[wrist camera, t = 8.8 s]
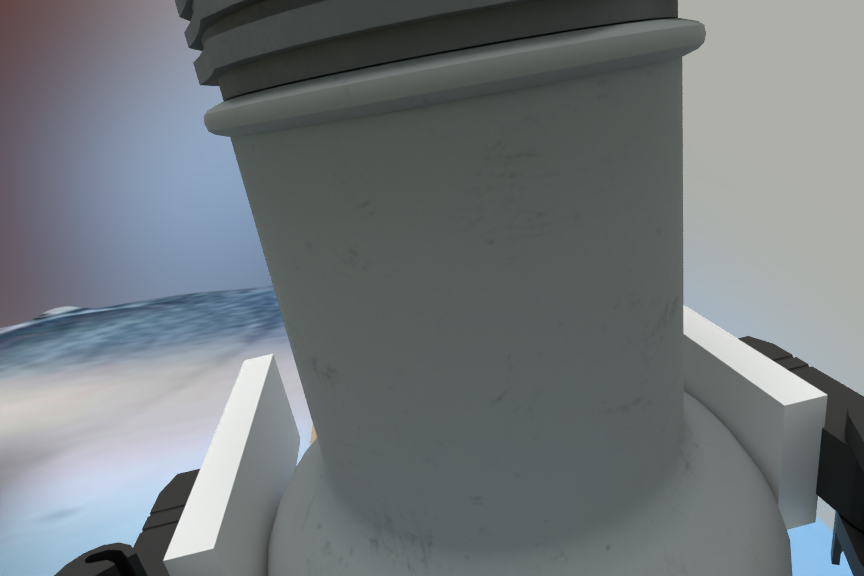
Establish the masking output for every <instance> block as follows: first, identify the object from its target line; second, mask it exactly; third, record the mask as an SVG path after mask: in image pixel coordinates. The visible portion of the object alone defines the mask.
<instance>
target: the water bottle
mask: <svg viewBox="0 0 864 576" xmlns="http://www.w3.org/2000/svg"><path fill="white" fill-rule="evenodd" d="M175 3H176V6H177V10H178V13H179V16H180V17H181V18H184V19H186V20H189V21H191V22H190V24H189V26H188V27H187V29H186V31H185V32H184V33H185V37H186V40H187V43H188V47H189V48H191V49H195V50H200V51H202V53H201V55H200V56H199V57H198V59H196V61H195V62H194V67H195V70H196V73H197V77H198V80H199V83H200V85H209V86H220V90H221V93H222V97H223V100H224V102H222V103H220V104H218V105H216V106H215V107H213V108H211V109H209V110H208V111H207V112H206V114H205V115H204V123H205V126H206V127H207V129H208V131H209V132H211V133H213V134H215V135H221V136H228V137H231V141H232V144H233V148H234V152H235V155H236V158H237V162H238V165H239V169H240V172H241V176H242V179H243V183H244V186H245V190H246V193H247V197H248V200H249V203H250V207H251V210H252V214H253V217H254V221H255V224H256V227H257V231H258V235H259V238H260V241H261V245H262V248H263V252H264V255H265V259H266V262H267V266H268V269H269V272H270V276H271V279H272V283H273V286H274V290H275V293H276V297H277V300H278V304H279V307H280V311H281V314H282V318H283V321H284V324H285V328H286V331H287V335H288V338H289V342H290V345H291V349H292V352H293V356H294V359H295V362H296V366H297V369H298V373H299V376H300V380H301V383H302V387H303V390H304V394H305V397H306V400H307V404H308V407H309V411H310V414H311V418H312V421H313V425H314V428H315V432H316V435H317V438H316V439H315V441H314V442H313V443H312V445H311V446H310V447H309V448H308V450H307V451H306V452H305V454H304V455H303V457H302V459H301V460H300V462H299V464H298V465H297V467H296V469H295V471H294V473H293V475H292V477H291V479H290V481H289V483H288V485H287V487H286V489H285V490H284V492H283V494H282V497H281V500H280V503H279V506H278V509H277V512H276V516H275V520H274V524H273V527H272V531H271V535H270V539H269V543H268V576H792V564H791V549H790V539H789V536H788V533H787V530H786V527H785V524H784V521H783V518H782V515H781V513H780V510H779V507H778V504H777V501H776V499H775V496H774V493H773V490H772V488H771V486H770V484H769V482H768V481H767V479H766V477H765V476H764V475H763V473H762V472H761V470H760V469H759V467H758V466H757V465H756V463H755V462H754V460H753V459H752V457H751V456H750V454H749V453H748V452H747V450H746V449H745V448H744V447H743V445H742V444H741V443H740V441H739V440H738V439H737V438H736V436H735V435H734V434H733V433H732V432H731V431H730V430H729V429H728V428H727V427H726V426H725V425H724V424H723V423H722V422H721V421H720V420H719V419H718V418H717V417H716V416H715V415H714V414H713V413H712V412H711V411H710V410H708V409H707V408H706V407H705V406H704V405H703V404H702V403H701V402H700V401H698V400H697V399H695V398H694V397H692V396H691V395H689V394H688V393H686V392H685V391H684V344H683V151H682V150H683V143H682V142H683V140H682V139H683V138H682V137H683V136H682V133H683V131H682V56H684V55H686V54H688V53H690V52H692V51H694V50H696V49H698V48H699V47H700V46H701V45H702V44H703V43H704V40H705V36H706V31H705V27H704V25H703V24H702V23H700V22H698V21H693V20H687V19H681V18H678V0H175Z"/></svg>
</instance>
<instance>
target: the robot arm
mask: <svg viewBox="0 0 864 576" xmlns="http://www.w3.org/2000/svg"><path fill="white" fill-rule="evenodd" d="M683 344H684V391H685V392H686V393H688V394H689V395H691V396H692V397H694V398H695V399H697V400H698V401H700V402H701V403H702V404H703V405H704V406H705V407H706V408H707V409H708V410H710V411H711V412H712V413H713V414H714V415H715V416H716V417H717V418H718V419H719V420H720V421H721V422H722V423H723V424H724V425H725V426H726V427H727V428H728V429H729V430H730V431H731V432H732V433H733V434H734V435H735V436H736V438H737V439H738V440H739V441H740V443H741V444H742V445H743V447H744V448H745V449H746V450H747V452H748V453H749V454H750V456H751V457H752V459H753V460H754V462H755V463H756V465H757V466H758V467H759V469H760V470H761V472H762V473H763V475H764V476H765V477H766V479H767V481H768V482H769V484H770V486H771V488H772V490H773V493H774V496H775V499H776V501H777V504H778V507H779V510H780V513H781V515H782V518H783V521H784V524H785V527H786V530H787V529H791V528H795V527H799V526H802V525H806V524H810V523H814V522H815V519H816V509H817V499H818V496H819V497H821V498H822V499H823V500H824V501H825V502H826V503H828V504H829V505H830V506H831V507H832V508H833V509H834V510H836V513H835V522H834V530H833V539H832V548H831V561H832V564H835V565H839V564H840V555H841V552H842V551H844V554H845V556H846V559H847V561H848V564H849V566H850V569H851V571H852V573H853V576H864V397H863V396H862V395H860V394H858V393H857V392H855V391H853V390H851V389H850V388H848V387H846V386H844V385H843V384H841V383H840V382H838V381H836V380H834V379H833V378H831V377H829V376H828V375H826V374H824V373H822V372H821V371H819V370H817V369H816V368H814V367H809V366H808V364H807V363H805V362H804V361H802V360H800V359H798V358H797V357H795V358H793V356H792V354H790V353H788V352H786V351H785V350H783V349H781V348H780V347H778V346H776V345H774V344H772V343H769V342H766V341H763V340H759V339H756V338H753V337H750V336H747V337H742V338H738V339H737V338H736V337H734V336H732V335H731V334H729V333H728V332H726V331H724V330H723V329H721V328H720V327H718V326H716V325H715V324H713V323H712V322H710V321H708V320H707V319H705V318H704V317H702V316H700V315H699V314H697V313H696V312H694V311H693V310H691V309H689V308H688V307H686V306H685V305H683ZM299 444H300V436H299V432H298V429H297V426H296V423H295V420H294V417H293V414H292V411H291V408H290V405H289V402H288V399H287V395H286V392H285V389H284V386H283V383H282V380H281V377H280V374H279V371H278V368H277V365H276V362H275V359H274V355H273V354H270V355H266V356H261V357H257V358H253V359H248V360H244V363H243V365H242V368H241V370H240V373H239V375H238V378H237V380H236V382H235V385H234V387H233V390H232V392H231V395H230V397H229V400H228V402H227V405H226V407H225V410H224V412H223V414H222V417H221V419H220V422H219V424H218V427H217V429H216V432H215V434H214V437H213V439H212V442H211V444H210V446H209V449H208V451H207V454H206V456H205V459H204V461H203V464H202V466H201V469H197V470H193V471H189V472H185V473H180V474H177V475H176V476H175V477H174V478H173V479H172V481H171V482H170V483H169V484H168V485H167V486H166V487H165V488H164V489H163V490H162V491H161V492H160V493H159V495H158V498H157V500H156V502H155V504H154V506H153V508H152V510H151V512H150V516H149V517H148V518H147V520H146V522H145V524H144V526H143V529H142V530H143V532H142V533H140V535H139V537H138V539H137V541H136V543H135V545H134V547H133V548H132V547H131V545H127V544H123V543H114V544H108V545H103V546H100V547H98V548H95V549H93V550H91V551H88V552H86V553H84V554H82V555H81V556H79V557H78V558H76V559H75V560H73V561H71V562H70V563H68V564H67V565H66V566H64V567H63V568H62V569H61V570H60V571H59V572H58V573H57V574H56V575H54V576H268V543H269V539H270V535H271V531H272V527H273V524H274V520H275V516H276V512H277V509H278V506H279V503H280V500H281V497H282V494H283V492H284V490H285V489H286V487H287V485H288V483H289V481H290V479H291V477H292V475H293V473H294V471H295V469H296V464H297V457H298V450H299Z"/></svg>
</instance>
